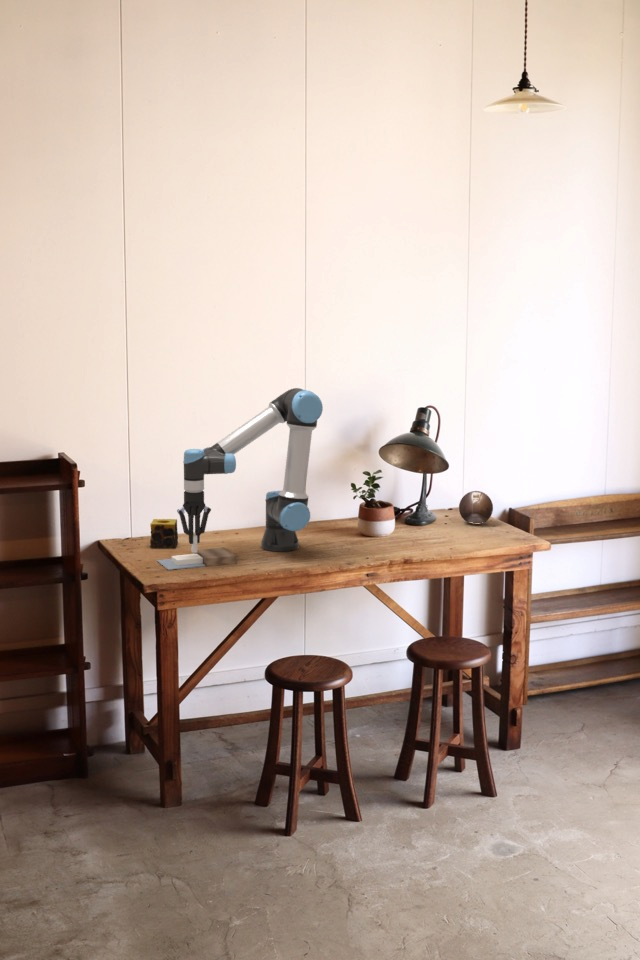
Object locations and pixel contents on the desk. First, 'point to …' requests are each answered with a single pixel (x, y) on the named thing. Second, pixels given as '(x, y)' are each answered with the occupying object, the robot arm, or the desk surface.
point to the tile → (187, 559)
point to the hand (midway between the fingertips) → (194, 551)
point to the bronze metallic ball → (475, 507)
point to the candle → (164, 533)
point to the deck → (217, 556)
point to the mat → (170, 565)
